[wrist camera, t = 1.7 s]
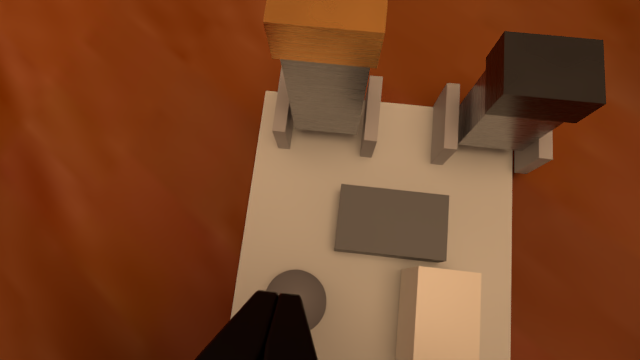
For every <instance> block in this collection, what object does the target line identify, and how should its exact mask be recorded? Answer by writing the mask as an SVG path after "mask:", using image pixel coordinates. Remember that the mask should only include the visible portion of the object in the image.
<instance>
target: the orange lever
mask: <svg viewBox="0 0 640 360" xmlns="http://www.w3.org/2000/svg"><path fill="white" fill-rule="evenodd" d="M387 3H388V0H267V1H266V7H265V13H264V20H263V23H264V28H265V32H266V36H267V40H268V44H269V48H270V52H271V56H272V58H273V59H280V60H281V65H282V70H283V75H284V79H285V84H286V89H287V93H288V98H289V103H290V108H291V112H292V117H293V122H294V127H295V129H302V130H312V131H322V132H332V133H342V134H352V135H357V131H358V126H359V121H360V116H361V111H362V106H363V101H364V96H365V91H366V86H367V80H368V75H369V70H370V68H377V65H378V61H379V56H380V52H381V48H382V43H383V39H384V34H385V26H386V14H387Z"/></svg>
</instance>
